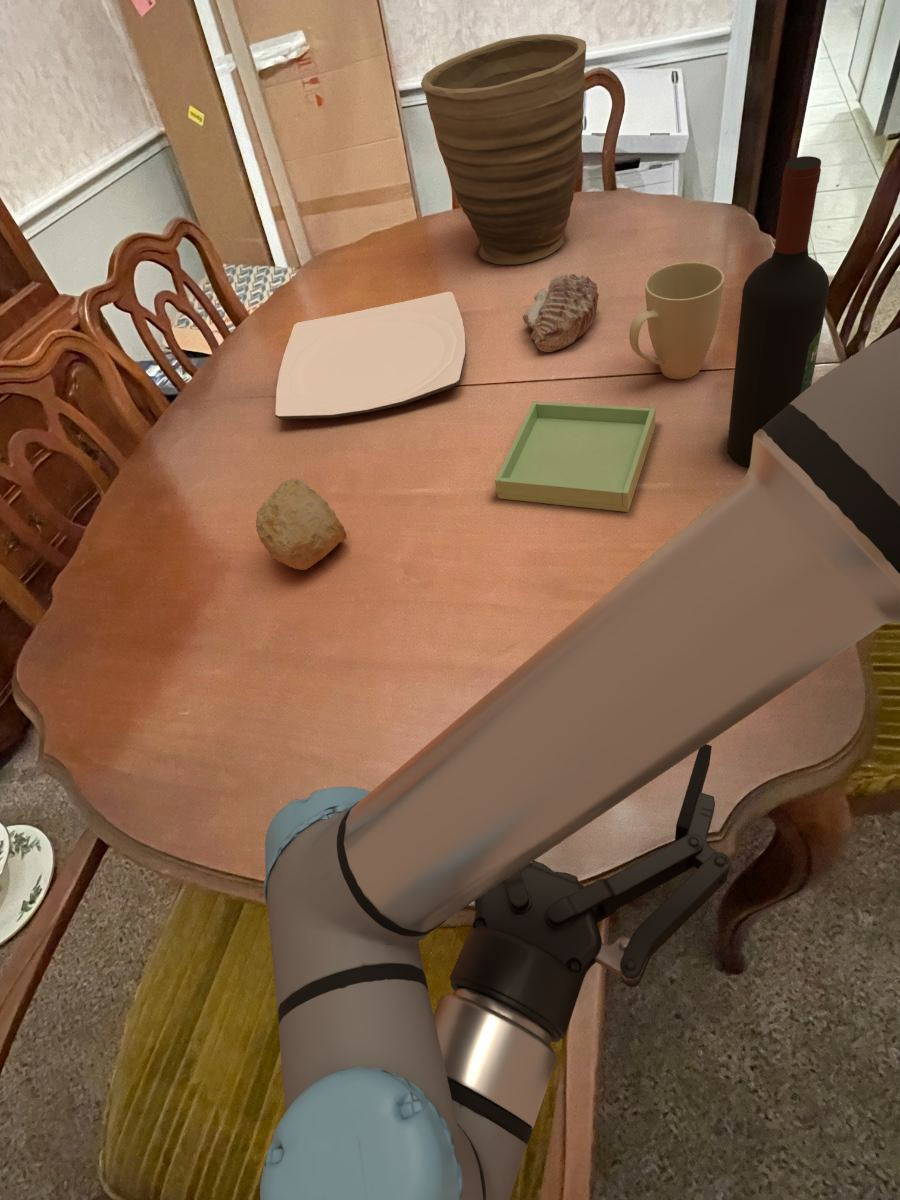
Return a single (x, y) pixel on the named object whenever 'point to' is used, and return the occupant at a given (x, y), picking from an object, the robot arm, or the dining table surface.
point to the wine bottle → (779, 316)
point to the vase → (512, 139)
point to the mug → (680, 316)
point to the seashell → (562, 312)
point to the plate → (371, 359)
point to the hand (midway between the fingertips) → (612, 726)
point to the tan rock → (298, 525)
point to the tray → (577, 455)
